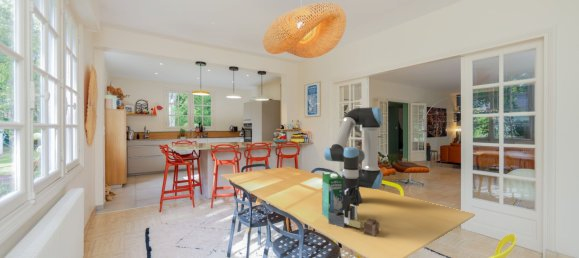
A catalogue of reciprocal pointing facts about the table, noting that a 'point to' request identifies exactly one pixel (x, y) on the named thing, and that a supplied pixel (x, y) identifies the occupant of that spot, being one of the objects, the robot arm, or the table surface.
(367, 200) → the table surface
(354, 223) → the slip tube
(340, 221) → the sleeve
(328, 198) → the milk carton
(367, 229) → the socket
